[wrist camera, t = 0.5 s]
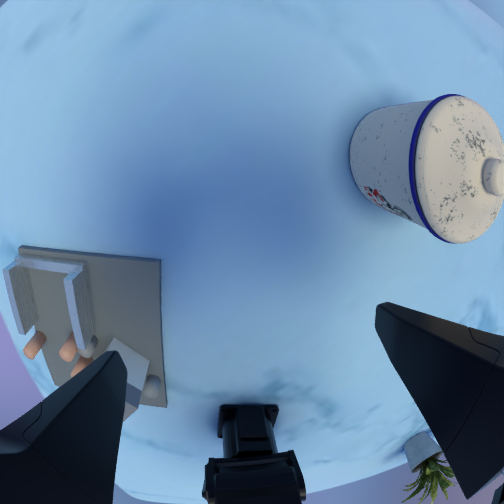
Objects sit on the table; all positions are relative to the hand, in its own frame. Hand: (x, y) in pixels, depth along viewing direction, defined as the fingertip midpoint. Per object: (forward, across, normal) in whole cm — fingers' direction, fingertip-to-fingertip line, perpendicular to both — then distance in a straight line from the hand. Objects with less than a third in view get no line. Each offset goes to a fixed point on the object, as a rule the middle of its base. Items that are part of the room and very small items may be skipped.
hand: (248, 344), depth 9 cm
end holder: (+13, +16, +2) cm, 21 cm away
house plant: (+14, -27, +44) cm, 53 cm away
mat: (+14, +15, +7) cm, 21 cm away
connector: (+13, +12, +10) cm, 21 cm away
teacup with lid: (+14, -15, -4) cm, 21 cm away
